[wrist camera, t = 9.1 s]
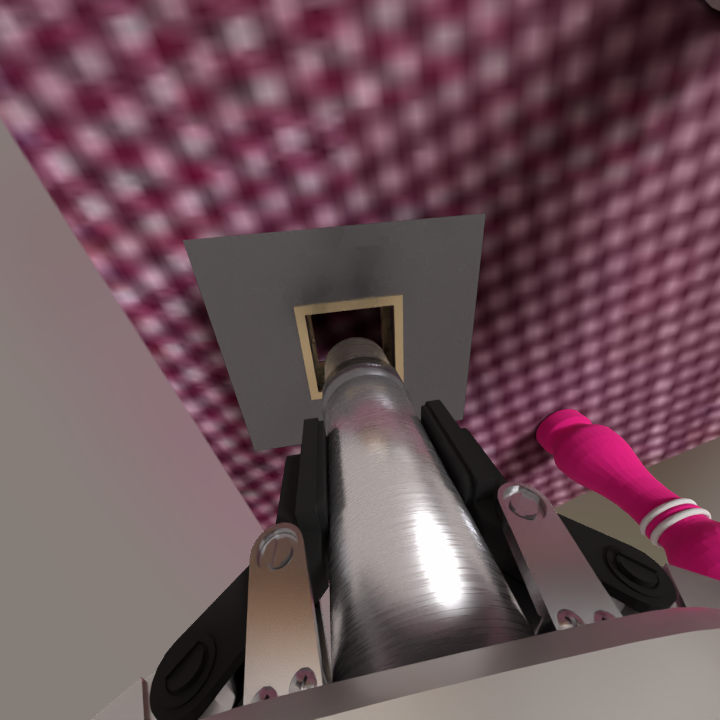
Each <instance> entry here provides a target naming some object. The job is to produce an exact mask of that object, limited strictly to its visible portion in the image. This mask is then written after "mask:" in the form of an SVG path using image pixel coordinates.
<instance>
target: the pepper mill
mask: <svg viewBox="0 0 720 720" xmlns="http://www.w3.org/2000/svg"><path fill="white" fill-rule="evenodd" d="M536 439H537V442H538V443H539V444H540V445H541V446H542V447H543V448H544V449H545V450H546V451H547V452H548V453H550V454H552V455H554V461H555V464H556V465H557V467H558V468H559V469H560V470H561V471H562V472H563V473H564V474H566V475H567V476H568V477H569V478H570V479H572V480H574V481H575V482H577V483H578V484H580V485H582V486H584V487H586V488H588V489H591V490H593V491H595V492H597V493H599V494H601V495H602V496H604V497H606V498H607V499H609V500H610V501H612V502H614V503H615V504H617V505H618V506H619V507H620V508H621V509H623V510H624V511H625V512H626V513H628V514H629V515H630V516H631V517H632V518H633V519H634V520H635V521H636V522H637V523H638V524H639V525H640V526H639V530H640V532H641V533H642V534H643V535H644V536H647V537H648V538H649V539H650V540H651V542H652V544H654V545H655V546H657V547H659V548H664V549H665V552H666V556H667V559H668V562H669V564H670V565H673V566H676V567H679V568H682V569H685V570H688V571H691V572H694V573H697V574H701V575H704V576H707V577H710V578H713V579H716V580H719V581H720V522H717V521H713V520H711V515H710V513H709V512H708V511H707V510H704V509H702V508H700V507H699V506H697V504H696V503H695V502H694V501H693V500H691V499H686V498H680V497H679V496H677V495H676V494H674V493H673V492H671V491H670V490H668V489H667V488H666V487H664V486H663V485H662V484H661V483H660V482H659V481H658V480H656V479H655V478H654V477H653V476H652V475H651V474H650V473H649V472H648V470H647V469H646V468H645V467H644V466H643V464H642V463H641V462H640V460H639V459H638V457H637V456H636V454H635V453H634V452H633V450H632V449H631V447H630V446H629V445H628V444H627V443H626V442H625V440H624V439H623V438H622V437H621V436H619V435H618V434H617V433H615V432H614V431H613V430H611V429H610V428H608V427H606V426H603V425H598V424H592V423H591V421H590V420H589V419H588V418H586V417H585V416H584V415H582V414H581V413H579V412H578V411H576V410H573V409H564V410H560V411H557V412H554V413H553V414H551V415H549V416H548V417H547V418H545V419H544V420H543V421H542V423H541V424H540V425H539V427H538V429H537V432H536Z"/></svg>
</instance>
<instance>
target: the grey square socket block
mask: <svg viewBox="0 0 720 720" xmlns="http://www.w3.org/2000/svg"><path fill="white" fill-rule="evenodd" d="M485 216H486V213H484V214H473V215H461V216H450V217H439V218H428V219H417V220H405V221H394V222H383V223H372V224H361V225H349V226H338V227H327V228H316V229H305V230H293V231H282V232H271V233H260V234H249V235H237V236H226V237H215V238H204V239H193V240H183V242H184V245H185V248H186V251H187V254H188V257H189V260H190V262H191V265H192V268H193V271H194V274H195V277H196V280H197V283H198V286H199V289H200V292H201V295H202V297H203V300H204V303H205V306H206V309H207V312H208V315H209V318H210V321H211V324H212V327H213V330H214V333H215V335H216V338H217V341H218V344H219V347H220V350H221V353H222V356H223V359H224V362H225V365H226V368H227V371H228V373H229V376H230V379H231V382H232V385H233V388H234V391H235V394H236V397H237V400H238V403H239V406H240V408H241V411H242V414H243V417H244V420H245V423H246V426H247V429H248V432H249V435H250V438H251V441H252V444H253V446H254V449H255V451H259V450H266V449H272V448H279V447H285V446H292V445H298V444H302V434H303V424H304V419H311V418H318V419H319V421H322V420H323V415H322V390H323V385H324V383H325V368H324V367H325V361H323V362H319V358H318V352H317V346H316V340H315V334H314V328H313V322H312V316H311V315H312V314H320V313H329V312H338V311H347V310H355V309H364V308H373V307H380V319H381V339H382V350H383V352H384V354H385V356H386V357H387V359H388V361H389V363H390V365H391V366H393V367H394V368H395V370H396V371H397V372H398V374H399V376H400V377H401V379H402V381H403V383H404V385H405V386H406V388H407V390H408V392H409V395H410V398H411V404H412V406H413V408H414V410H415V412H416V414H417V416H418V417H419V419H420V421H421V406H422V405H425V402H426V401H432V400H440V401H441V402H442V403H443V405H444V406H445V407H446V409H447V410H448V411H449V413H450V414H451V416H452V417H453V418H454V420H455V421H456V420H462V419H463V414H464V405H465V396H466V387H467V378H468V369H469V360H470V351H471V342H472V333H473V324H474V315H475V306H476V297H477V288H478V279H479V270H480V261H481V252H482V243H483V234H484V225H485ZM324 425H325V424H324ZM325 431H326V426H325Z"/></svg>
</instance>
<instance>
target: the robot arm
mask: <svg viewBox="0 0 720 720" xmlns="http://www.w3.org/2000/svg"><path fill="white" fill-rule="evenodd" d="M705 1H706V2H707V3H708V4H709V5H710V6H711V7H712V8H714V9H716V10H718V11H720V0H705ZM421 423H422V425H423V427H424V429H425V431H426V432H427V434H428V436H429V438H430V440H431V442H432V444H433V446H434V447H435V449H436V451H437V453H438V455H439V457H440V459H441V461H442V462H443V464H444V466H445V468H446V470H447V472H448V474H449V476H450V477H451V479H452V481H453V483H454V485H455V487H456V489H457V491H458V492H459V494H460V496H461V498H462V500H463V502H464V504H465V506H466V507H467V509H468V511H469V513H470V515H471V517H472V519H473V521H474V522H475V524H476V526H477V528H478V530H479V532H480V534H481V536H482V537H483V539H484V541H485V543H486V545H487V547H488V549H489V551H490V552H491V554H492V556H493V558H494V560H495V562H496V564H497V566H498V567H499V569H500V571H501V573H502V575H503V577H504V579H505V581H506V582H507V584H508V586H509V588H510V590H511V592H512V594H513V596H514V597H515V599H516V601H517V603H518V605H519V607H520V609H521V611H522V612H523V614H524V616H525V618H526V620H527V622H528V624H529V626H530V627H531V629H532V631H533V633H534V635H535V636H532V637H528V638H523V639H519V640H514V641H510V642H506V643H501V644H497V645H493V646H488V647H484V648H480V649H475V650H471V651H467V652H462V653H458V654H454V655H449V656H445V657H441V658H436V659H432V660H428V661H424V662H419V663H415V664H411V665H406V666H402V667H398V668H394V669H389V670H385V671H381V672H377V673H373V674H368V675H364V676H360V677H356V678H352V679H347V680H343V681H339V682H335V683H332V669H331V663H330V657H329V650H328V644H327V637H326V631H325V625H324V619H323V612H322V605H321V597H322V595H323V594H324V593H325V591H326V590H327V588H328V587H329V538H328V536H329V510H328V472H327V436H326V431H325V425H324V421H323V420H322V421H319V419H318V418H311V419H304V424H303V434H302V445H301V454H298V455H292V456H287V458H286V463H285V469H284V475H283V482H282V488H281V494H280V501H279V507H278V513H277V519H276V524H275V525H273V526H271V527H269V528H268V529H267V530H265V531H264V532H263V533H262V534H261V535H260V536H259V538H258V539H257V540H256V541H255V543H254V546H253V548H252V550H251V555H250V565H249V566H248V567H247V568H246V569H245V570H244V571H243V572H242V573H241V574H240V575H239V576H238V577H237V578H236V580H235V581H234V582H233V583H232V584H231V585H230V586H229V587H228V588H227V589H226V590H225V591H224V592H223V593H222V594H221V595H220V596H219V597H218V598H217V599H216V600H215V602H213V604H211V605H210V607H208V609H207V610H206V611H205V612H204V613H203V614H202V615H201V616H200V617H199V618H198V619H197V620H196V621H195V622H194V623H193V624H192V625H191V626H190V627H189V628H188V629H187V630H186V632H184V633H183V634H182V636H181V637H180V638H179V639H178V640H177V641H176V642H175V643H174V644H173V645H172V647H171V648H170V649H169V650H168V651H167V653H166V654H165V656H164V658H163V659H162V661H161V663H160V665H159V666H158V668H157V670H156V671H155V672H154V673H152V674H151V675H150V676H149V677H148V678H147V679H145V680H144V679H143V678H142V677H141V678H140V679H139V680H137V682H135V683H134V684H133V685H132V686H130V687H129V688H128V689H127V690H126V691H124V692H123V693H122V694H121V695H119V696H118V697H117V698H116V699H115V700H113V701H112V702H111V703H110V704H109V705H107V706H106V707H105V708H104V709H103V710H102V711H100V712H99V713H98V714H97V715H95V716H94V717H93V718H92V719H91V720H720V581H719V580H716V579H713V578H710V577H707V576H704V575H701V574H697V573H694V572H691V571H688V570H685V569H682V568H679V567H676V566H673V565H670V564H665V565H664V567H662V566H660V565H659V564H658V563H656V562H655V561H654V560H653V559H652V558H650V557H649V556H647V555H646V554H645V553H643V552H642V551H640V550H638V549H636V548H634V547H632V546H630V545H628V544H626V543H623V542H621V541H619V540H617V539H614V538H612V537H610V536H607V535H605V534H603V533H601V532H598V531H596V530H593V529H592V528H589V527H587V526H585V525H583V524H580V523H578V522H576V521H574V520H571V519H569V518H567V517H564V516H562V515H560V514H558V513H556V511H555V510H554V508H553V506H552V505H551V503H550V502H549V501H548V499H547V498H546V497H545V496H544V495H543V494H542V493H541V492H539V491H538V490H537V489H535V488H533V487H531V486H530V485H527V484H524V483H520V482H508V483H507V481H506V480H505V479H504V477H503V476H502V475H501V473H500V472H499V471H498V469H497V468H496V467H495V465H494V464H493V463H492V461H491V460H490V459H489V457H488V456H487V455H486V453H485V452H484V451H483V449H482V448H481V447H480V445H479V444H478V443H477V441H476V440H475V439H474V437H473V436H472V435H471V433H470V432H469V431H468V430H467V429H465V428H462V429H461V428H460V427H459V425H458V424H457V423H456V421H455V420H454V418H453V417H452V416H451V414H450V413H449V411H448V410H447V409H446V407H445V406H444V405H443V403H442V402H441V401H440V400H432V401H426V402H425V405H422V406H421Z"/></svg>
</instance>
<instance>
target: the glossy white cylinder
mask: <svg viewBox="0 0 720 720" xmlns="http://www.w3.org/2000/svg"><path fill="white" fill-rule="evenodd" d="M324 368H325V383H324V385H323V390H322V415H323V421H324V424H325V426H326V436H327V472H328V510H329V536H328V538H329V581H330V622H331V661H332V662H331V663H332V664H331V665H332V683H335V682H339V681H343V680H347V679H352V678H356V677H360V676H364V675H368V674H373V673H377V672H381V671H385V670H389V669H394V668H398V667H402V666H406V665H411V664H415V663H419V662H424V661H428V660H432V659H436V658H441V657H445V656H449V655H454V654H458V653H462V652H467V651H471V650H475V649H480V648H484V647H488V646H493V645H497V644H501V643H506V642H510V641H514V640H519V639H523V638H528V637H532V636H535V635H534V633H533V631H532V629H531V627H530V626H529V624H528V622H527V620H526V618H525V616H524V614H523V612H522V611H521V609H520V607H519V605H518V603H517V601H516V599H515V597H514V596H513V594H512V592H511V590H510V588H509V586H508V584H507V582H506V581H505V579H504V577H503V575H502V573H501V571H500V569H499V567H498V566H497V564H496V562H495V560H494V558H493V556H492V554H491V552H490V551H489V549H488V547H487V545H486V543H485V541H484V539H483V537H482V536H481V534H480V532H479V530H478V528H477V526H476V524H475V522H474V521H473V519H472V517H471V515H470V513H469V511H468V509H467V507H466V506H465V504H464V502H463V500H462V498H461V496H460V494H459V492H458V491H457V489H456V487H455V485H454V483H453V481H452V479H451V477H450V476H449V474H448V472H447V470H446V468H445V466H444V464H443V462H442V461H441V459H440V457H439V455H438V453H437V451H436V449H435V447H434V446H433V444H432V442H431V440H430V438H429V436H428V434H427V432H426V431H425V429H424V427H423V425H422V423H421V421H420V419H419V417H418V416H417V414H416V412H415V410H414V408H413V406H412V404H411V398H410V395H409V392H408V390H407V388H406V386H405V385H404V383H403V381H402V379H401V377H400V376H399V374H398V372H397V371H396V370H395V368H394V367H393V366H391V365H390V363H389V361H388V359H387V357H386V356H385V354H384V352H383V350H382V349H381V348H380V346H379V345H377V344H376V343H375V342H373V341H371V340H369V339H366V338H361V337H354V338H348V339H345V340H343V341H341V342H339V343H337V344H336V345H335V346H334V347H333V348H332V349H331V350H330V351H329V353H328V355H327V357H326V360H325V367H324Z"/></svg>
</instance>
